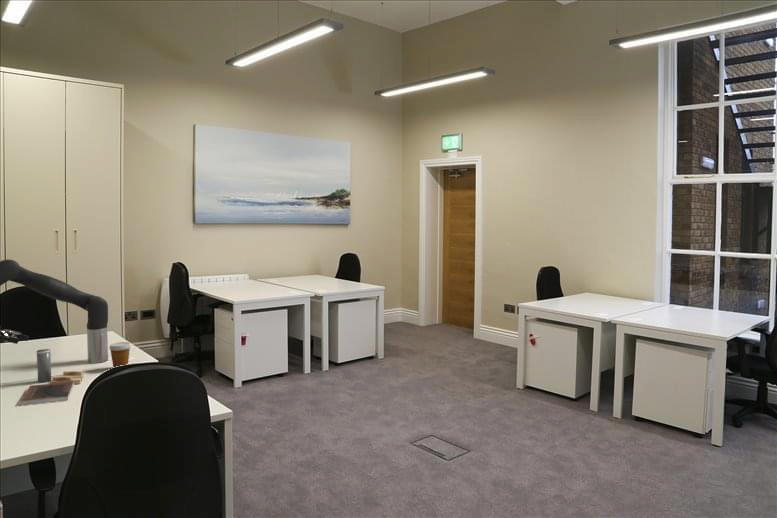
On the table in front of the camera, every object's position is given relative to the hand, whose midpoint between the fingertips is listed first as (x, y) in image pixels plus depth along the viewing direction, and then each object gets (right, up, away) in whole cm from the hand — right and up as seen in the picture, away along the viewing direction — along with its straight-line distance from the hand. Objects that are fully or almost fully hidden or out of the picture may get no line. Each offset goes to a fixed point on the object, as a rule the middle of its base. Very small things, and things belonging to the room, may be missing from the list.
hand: (23, 340), depth 245 cm
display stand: (+18, -19, +3) cm, 27 cm away
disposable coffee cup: (+31, -18, +26) cm, 44 cm away
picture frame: (+20, -22, -14) cm, 33 cm away
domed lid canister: (+7, -19, +4) cm, 21 cm away
